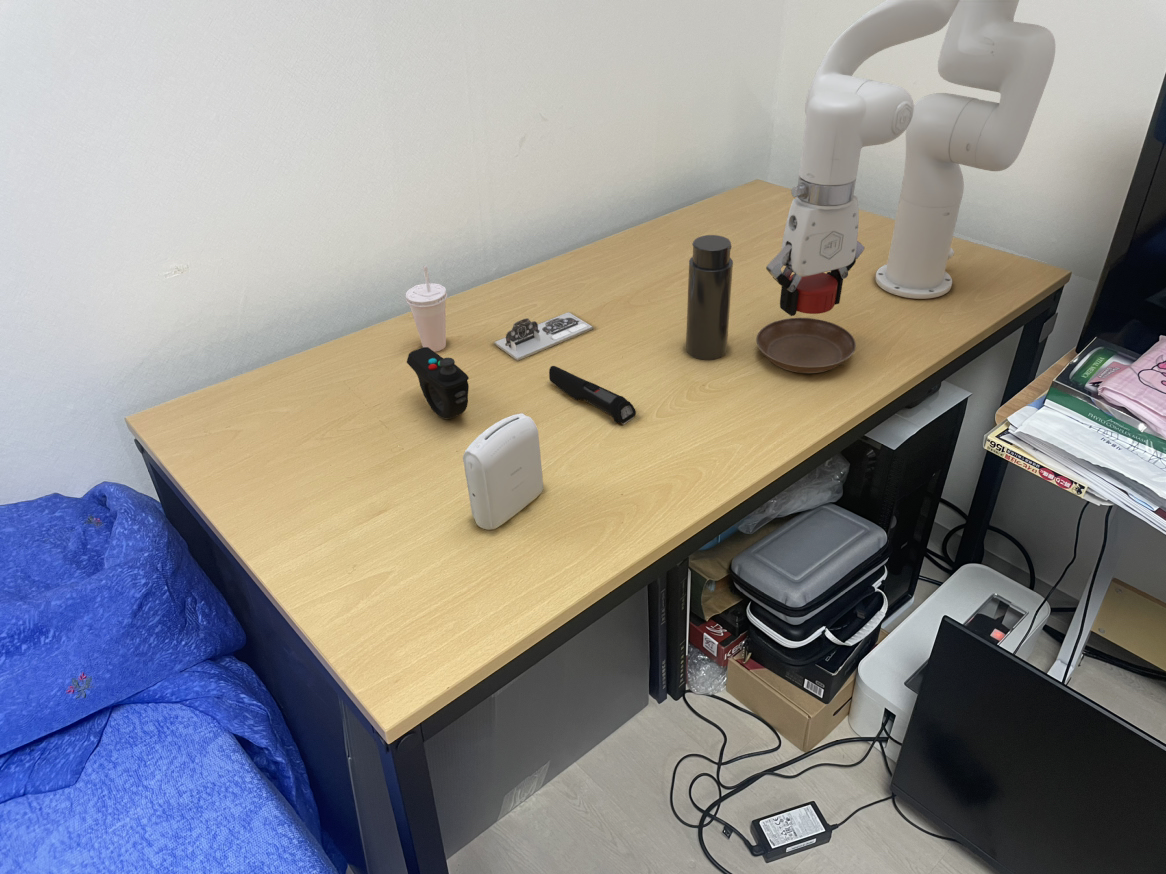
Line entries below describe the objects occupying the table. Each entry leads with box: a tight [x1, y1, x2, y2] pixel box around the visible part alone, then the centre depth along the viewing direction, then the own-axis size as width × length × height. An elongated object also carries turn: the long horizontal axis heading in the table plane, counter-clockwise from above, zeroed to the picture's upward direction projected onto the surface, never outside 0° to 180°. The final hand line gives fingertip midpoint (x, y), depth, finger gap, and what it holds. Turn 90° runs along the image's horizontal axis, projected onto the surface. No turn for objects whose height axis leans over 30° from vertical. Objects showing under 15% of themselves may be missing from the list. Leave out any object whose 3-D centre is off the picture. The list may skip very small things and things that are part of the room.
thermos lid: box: [789, 272, 838, 315], centre depth 128 cm, size 7×7×4 cm
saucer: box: [755, 317, 857, 374], centre depth 134 cm, size 15×15×3 cm
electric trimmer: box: [548, 365, 637, 426], centre depth 126 cm, size 4×16×3 cm, turn 45°
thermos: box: [685, 234, 734, 361], centre depth 132 cm, size 6×6×18 cm
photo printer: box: [462, 412, 544, 531], centre depth 105 cm, size 10×4×12 cm, turn 140°
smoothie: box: [405, 265, 448, 353], centre depth 137 cm, size 6×6×14 cm
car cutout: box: [493, 312, 594, 362], centre depth 141 cm, size 15×7×4 cm, turn 128°
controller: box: [406, 346, 470, 420], centre depth 123 cm, size 4×12×10 cm, turn 38°
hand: (809, 305), depth 129 cm, fingers closed on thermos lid, 7 cm apart
